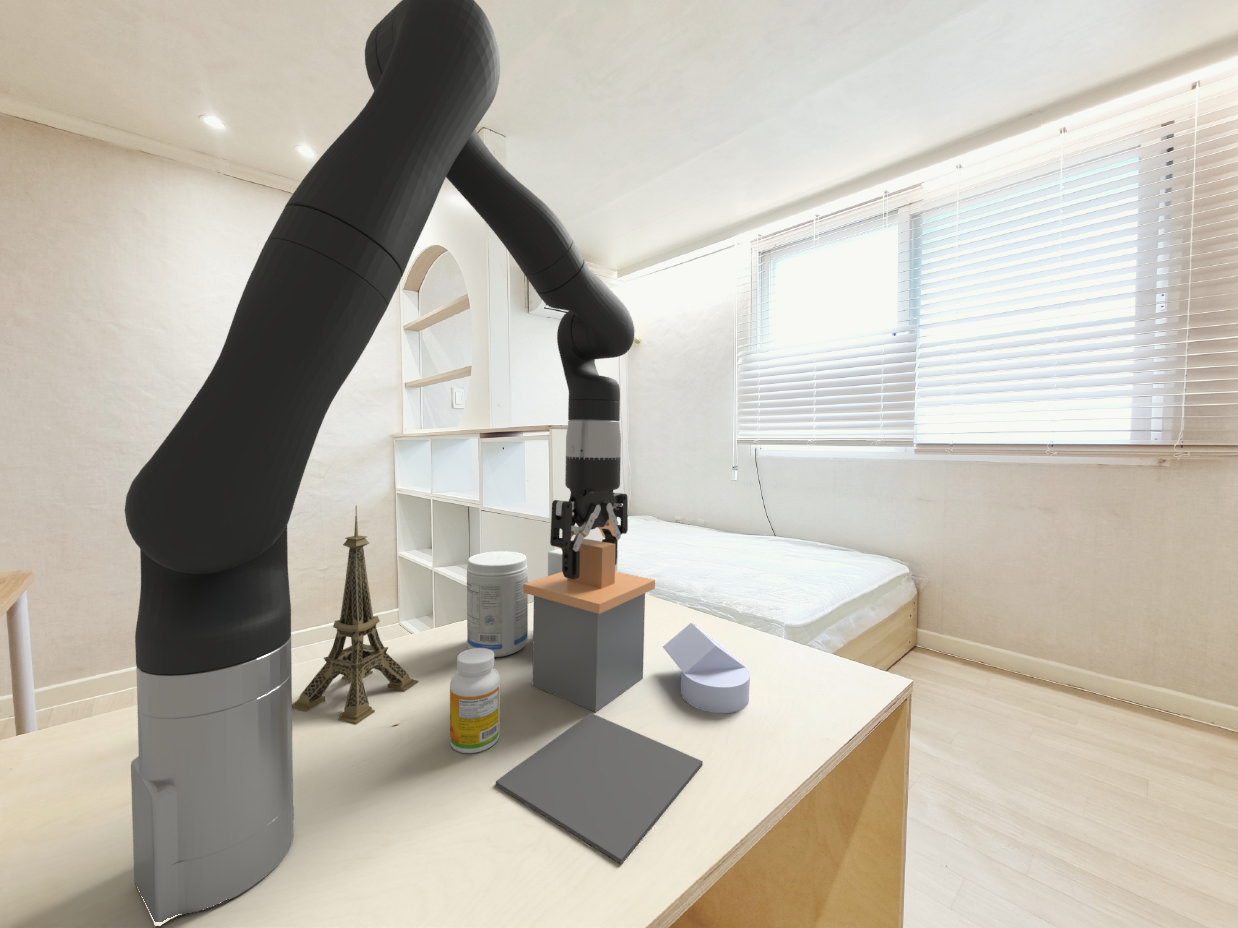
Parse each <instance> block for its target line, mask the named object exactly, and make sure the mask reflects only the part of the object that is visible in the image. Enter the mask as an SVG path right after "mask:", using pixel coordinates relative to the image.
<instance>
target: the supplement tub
mask: <svg viewBox="0 0 1238 928" xmlns="http://www.w3.org/2000/svg"><path fill="white" fill-rule="evenodd" d="M528 569H529V568H528V561H527V556H526V555H525V554H524V553H521V552H517V551H510V550H508V551H506V550H496V551H495V550H494V551H488V552H487V551H486V552H482V553H481V552H480V553H477V554H474V555H471V556H470V557H468V559H467V567H466V618H467V619H466V625H467V626H466V629H467V630H466V631H467V632H466V633H467V636H466V637H467V639H466V640H467V647H468V649H473V648H486V649H490V650H492V651H493V652H494V658H501V657H502V658H503V657H506V656H511V655H513V654H516V653H517V652H519V651H521V650H523V648H525V646H526V645H527V643H528V637H529V636H528V634H529V633H528V631H529V630H528V626H529V625H528V622H529V621H528V619H529V617H528V616H529V615H528V612H529V611H528V610H529V609H528V607H529V605H528V604H529V603H528V602H529V600H528V598H529V596H528V595H529V594H527V593H523V584H525V583H528V581H529V580H528V578H529V577H528V571H529V570H528Z"/></svg>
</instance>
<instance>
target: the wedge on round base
mask: <svg viewBox="0 0 1238 928" xmlns="http://www.w3.org/2000/svg"><path fill="white" fill-rule="evenodd" d="M662 648H663V650H664V651H665V652H666V653H667V655H668V656H669V657H670V659H672V661H673V662H674V663H675V665H676V666H677V667H678V668H679V669H680V671H681V672H680V673H681V674H680V675H681V676H680V679H681V680H680V694H682V695H681V697H682V696H683V697H684V698H683V697H682V698H683V700H684V699H685V700H686V701H687V702H686V701H685V700H684V701H685V702H686V703H688V704H689V705H690V704H691V706H692V707H694V708H696V709H698V710H702V711H704V712H708V713H714V714H729V713H731V714H732V713H736V712H738V711H741V710H743V709H744V708H746V707H747V706H748V705H749V703H750V702H749V701H750V685H751V684H750V681H751V680H750V679H751V674H750V670H749V669H748V668H747V667H746V666H745V665H744V664H743V663H741V662H740V661H739V660H738V659H737V658H736V657H735V656H734V655H733V654H731V653H730V651H729V650H727V649H726V648H725V647H724V646H723V645H722V644H721V643H720V642H718V641H717V640H716V639H714V638H713V637H711V636H710V635H709V634H708V633H706V632H705V631H704V630H702V629H701V628H700V627H698V626H697V625H695V624H694V623H692V622H690V623H689V624H688V625H686V626H685V627H684V628H683V629H682V630H681V631H679V632H678V633H677V634H676V635H675V636H673V637H672V638H671V639H670V640H668V641H667V642H666V643H665V644H664V645H663V646H662Z"/></svg>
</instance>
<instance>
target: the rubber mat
mask: <svg viewBox="0 0 1238 928" xmlns="http://www.w3.org/2000/svg"><path fill="white" fill-rule="evenodd" d="M702 766H703V760H701V759H699V758H696V757H694V756H692V755H690V754H688V753H685V752H683V751H680V750H678V749H675V748H673V747H671V746H669V745H666V744H664V743H661V742H659V741H657V740H655V739H652V738H650V737H648V736H645V735H643V734H640V733H638V732H637V731H635V730H631V729H629V728H627V727H625V726H623V725H620V724H618V723H615V722H614V721H611V720H608V719H606V718H604V717H601V716H599V715H597V714H595V713H592V712H590V713H588V714H587V715H586V716H584V717H583V718H582V719H581V720H579V721H577V722H576V723H575V724H573V725H572V726H570V727H569V728H568V729H566V730H565V731H564V732H562V733H561V734H559V735H558V736H557V737H555V738H553V739H552V740H551V741H549V742H548V743H547V744H545V745H544V746H543V747H541V748H540V749H538V750H537V751H535V752H534V753H533V754H532V755H530V756H529V757H527V758H526V759H524V760H523V761H522V762H520V763H519V764H518V765H516V766H515V767H513V768H512V769H511V770H509V771H508V772H507V773H505V774H504V775H502V776H500V777H499V778H498V779H496V780H495V787H498V788H499V789H501V790H503V791H504V792H506V793H507V794H509V795H511V796H512V797H514V798H515V799H517V800H518V801H520V802H521V803H523V804H524V805H527V806H528V807H529V808H531V809H532V810H534V811H536V812H537V813H539V814H541V815H542V816H544V817H545V818H547V819H549V820H550V821H551V822H553V823H555V824H557V825H558V826H560V827H561V828H563V829H564V830H565V831H568V832H569V833H571V834H572V835H574V836H576V837H577V838H579V839H580V840H582V841H584V842H585V843H587V844H588V845H590V846H592V847H593V848H595V849H597V850H598V851H600V853H603V854H604V855H606V856H607V857H609V858H611V859H612V860H614V861H615V862H617V863H618V864H620V865H623V863H624V861H625V860H626V859H627V858H628V857H629V856H630V854H631V853H632V852H633V851H634V850H635V849H636V847H637V846H638V844H639V843H640V842H641V841H642V840H643V838H644V837H645V836H646V835H647V834H648V833H649V832H650V830H651V829H652V827H653V826H654V825H655V824H656V823H657V821H658V820H659V819H660V818H661V816H662V815H663V814H664V813H665V812H666V810H667V809H668V807H670V806H671V804H672V803H673V801H674V800H675V799H676V798H677V797H678V796H679V794H680V793H681V792H682V791H683V790H684V788H685V787H686V785H688V784H689V782H690V781H691V780H692V779H693V777H694V776H695V775H696V773H698V771H699V770H700V769H701V767H702Z"/></svg>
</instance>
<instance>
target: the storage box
mask: <svg viewBox="0 0 1238 928" xmlns="http://www.w3.org/2000/svg"><path fill="white" fill-rule="evenodd" d="M645 609H646V593H644V594H642V595H639V596H637V597H635V598H633V599H631V600H629V601H626V602H624V603H622V604H620V605H618V606H616V607H613V608H611V609H609V610H607V611H605V612H603V613H600V614H598V613H594V612H591V611H587V610H584V609H580V608H576V607H573V606H569V605H566V604H562V603H559V602H555V601H551V600H548V599H544V598H541V597H537V596H534V595H533V616H532V617H533V629H532V635H533V636H532V686H533V687H536V688H538V689H540V690H542V691H545V692H547V693H549V694H552V695H555V696H556V697H559V698H560V699H563V700H566V701H568V702H571V703H572V704H575V705H577V706H579V707H582V708H584V709H586V710H589V711H592V712H594V713H597V712H599V711H601V709H603V708H604V707H605V706H607V705H608V704H609V703H611V702H612V701H613V700H615V699H617V698H618V697H619V696H621V695H622V694H623V693H625V692H626V691H627V690H628V689H630V688H631V687H633V686H635V685H636V684H637V683H638V682H640V681H641V680H642V679H644V653H645V652H644V651H645V649H644V648H645V647H644V646H645V644H644V643H645Z"/></svg>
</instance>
